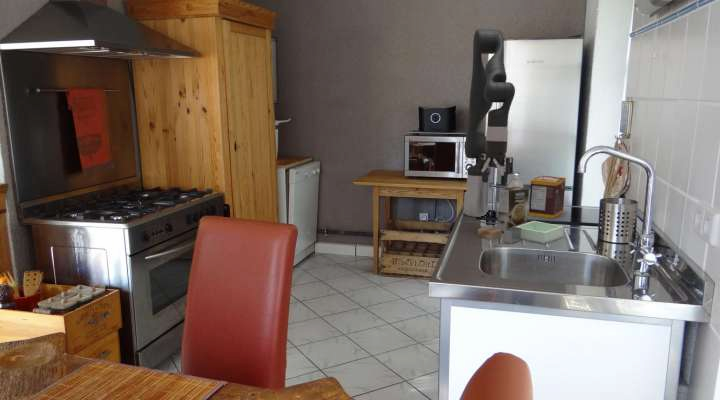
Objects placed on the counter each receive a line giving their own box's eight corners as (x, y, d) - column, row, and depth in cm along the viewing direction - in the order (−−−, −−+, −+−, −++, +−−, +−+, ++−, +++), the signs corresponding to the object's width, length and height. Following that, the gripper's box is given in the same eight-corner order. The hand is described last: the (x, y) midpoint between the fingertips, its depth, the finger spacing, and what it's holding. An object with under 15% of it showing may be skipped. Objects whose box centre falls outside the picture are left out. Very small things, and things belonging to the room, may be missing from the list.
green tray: (513, 237, 191) (514, 226, 190) (533, 231, 200) (533, 220, 199) (544, 244, 182) (544, 232, 182) (562, 237, 192) (563, 226, 191)
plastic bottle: (503, 223, 211) (506, 173, 207) (505, 220, 217) (508, 171, 213) (520, 225, 208) (523, 174, 205) (522, 221, 215) (525, 172, 211)
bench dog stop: (503, 242, 185) (504, 229, 184) (512, 239, 189) (513, 226, 188) (511, 244, 182) (511, 231, 182) (520, 240, 186) (521, 228, 186)
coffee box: (508, 233, 196) (511, 190, 193) (496, 229, 202) (498, 187, 199) (526, 230, 200) (529, 188, 197) (514, 227, 206) (517, 186, 203)
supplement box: (563, 212, 232) (566, 177, 229) (552, 219, 220) (555, 181, 217) (539, 209, 238) (542, 175, 235) (528, 215, 226) (530, 179, 223)
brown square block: (477, 237, 192) (477, 229, 191) (487, 234, 196) (487, 226, 195) (491, 240, 187) (492, 232, 187) (501, 237, 192) (501, 229, 191)
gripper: (474, 138, 194) (472, 182, 197) (505, 141, 182) (502, 187, 186) (488, 137, 198) (486, 180, 201) (519, 140, 187) (516, 185, 190)
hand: (494, 184), depth 193 cm, fingers open, 8 cm apart
